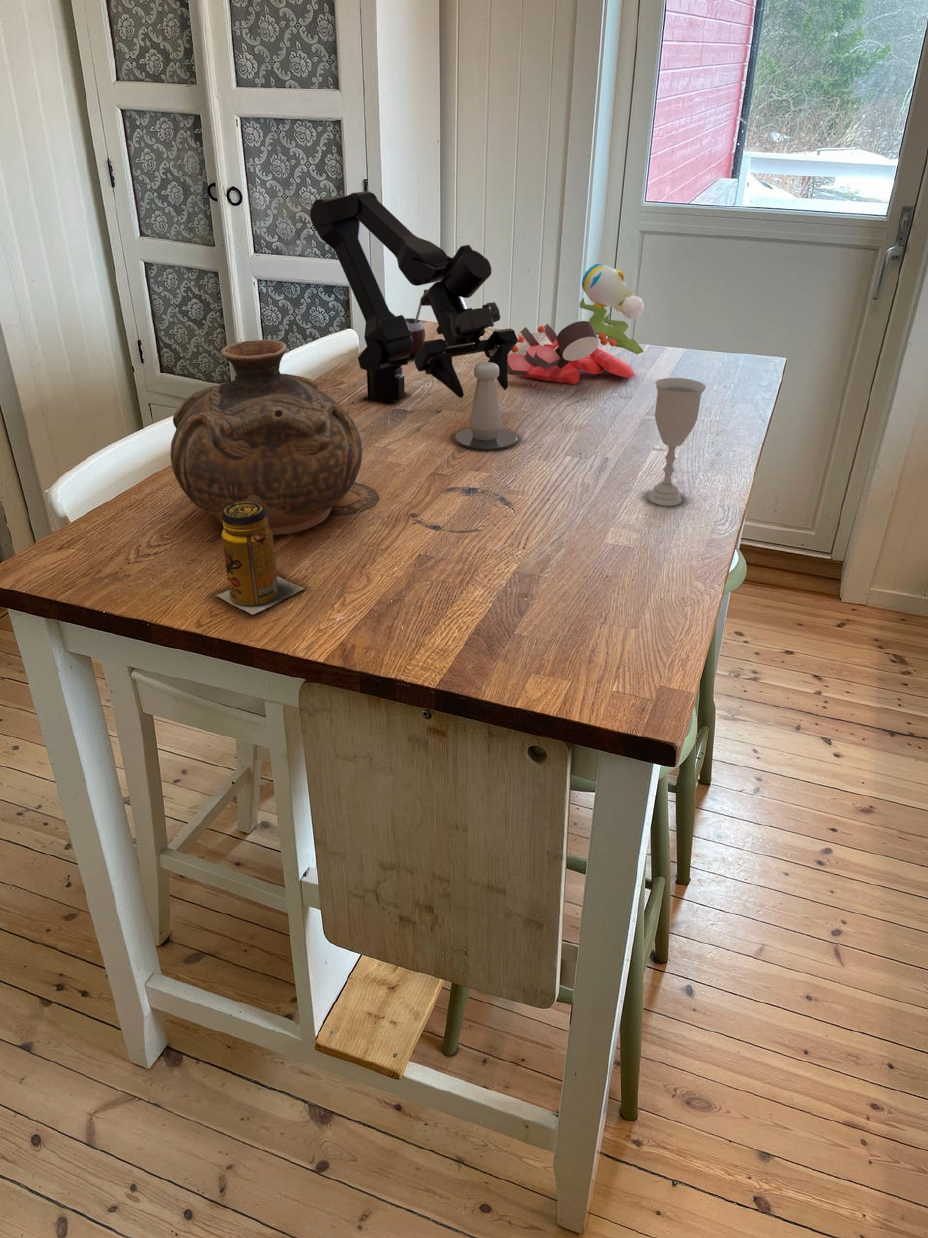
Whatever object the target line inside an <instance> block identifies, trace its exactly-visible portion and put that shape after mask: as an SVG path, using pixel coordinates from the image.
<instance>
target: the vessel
mask: <svg viewBox="0 0 928 1238" xmlns="http://www.w3.org/2000/svg"><path fill="white" fill-rule="evenodd" d="M287 348H288V345H287V344H286V343H285V342H283V341H280V340H274V339H255V340H254V339H253V340H244V341H237V342H233V343H231V344H227V345H226V346H224V347H223V348H222V349H221V351H220V354H221V356H222V357H223V358H225V359H226V360H227V361H228V362H229V363H230V364H231V365H232V367H233V368H232V369H233V370H234V372H235V376H234V380H231V381H229V382H222V383H219V384H217V385H212V386H209V387H207V388H204V389H201V390H199V391H197V392H196V391H195V392H194V393H193V394H192V395H190V396H189V397H188V398H186V399H184V401H183V402H182V403H181V404H180V406H179V407H178V408H177V410H176V411H175V412H174V413H173V417H172V423H173V426H174V428H175V431H174V434H173V437H172V439H171V443H170V462H171V468H172V473H173V475H174V476H175V479H176V481H177V483H178V485H179V487H180V489H181V490H182V492H183V493H184V494H185V495H186V496H187V498H188V499H189V500H190V501H191V502H192V503H193V504H194V505H195V506H196V507H198V508H199V509H201V510H202V511H204V512H206V513H208V514H210V515H212V516H214V517H216V518H217V520H218V521H219V522H220V523H221V524H222V525H223V518H222V511H223V510H224V509H225V508H226V507H227V506H229V505H231V504H234V503H238V502H256V503H259V504H261V505H263V506H264V507H265V509H266V510H267V514H266V515H267V519H268V525H269V526H270V527H271V529H272V535H273V536H281V535H290V534H295V533H296V534H297V533H300V532H303V531H305V530H308V529H310V528H314V527H315V526H317V525H319V524H321V523H322V522H324V521H325V520H327V518H328V517H329V515H330V513H331V511H332V507H334V506H335V505H336V504H338V503H339V502H340V501H341V500H342V499H343V498H344V497H345V496H346V495H347V494H348V492H349V491H350V490H351V488H352V487H353V485H354V484H355V481H356V479H357V477H358V474H359V472H360V469H361V465H362V457H363V447H362V446H363V445H362V439H361V436H360V433H359V430H358V428H357V425H356V423H355V421H354V420H353V419H352V418H351V416H350V415H349V414H348V412H347V411H346V410H345V409H344V408H343V407H342V406H341V405H340V404H339V403H338V402H337V401H336V400H335V399H333V398H332V397H331V396H329V395H328V394H326V393H325V392H323V391H321V390H319V389H318V384H317V383H316V382H315V381H314V380H312V379H310V378H307V377H304V376H300V375H294V374H289V373H281V372H280V366H281V363H282V359H283V357H284V356H285V353H286V351H287Z"/></svg>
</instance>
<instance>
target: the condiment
mask: <svg viewBox="0 0 928 1238" xmlns="http://www.w3.org/2000/svg"><path fill="white" fill-rule="evenodd" d="M266 514H267V510H266V509H265V507H264V506H263V505H261V504H259V503H256V502H238V503H234V504H231V505H229V506H227V507H226V508H225V509H224V510H223V511H222V518H223V524H222V527H223V530H222V532H221V541H222V542H221V543H222V547H223V556H224V562H225V569H226V570H225V571H226V577H227V585H228V590H226V591H223V592H222V593H219V594H215V596H216V597H217V598H219V599H221V600H223V601H225V602H226V603H228V604H230V605H232V606H234V607H236V608H238V609H240V610H242V611H245V612H247V613H248V614H250V615H252V616H253V615H256V614H258V613H259V612H262V611H264V610H266V609H268V608H271V607H273V606H274V605H276V604H278V603H279V602H282V601H283V600H284V599H287V598H290V597H292V596H294V595H296V594H297V593H298V592H300V591H303V590H305V589H306V588H305V587H304V586H300V585H297V584H296V583H293V582H290V581H288V580H286V579H283V578H282V577H280V576H279V575H278V574H277V573H278V572H277V563H276V556H275V555H276V554H275V546H274V535H272V529H271V527H270V526H269V525H268V519H267V515H266Z"/></svg>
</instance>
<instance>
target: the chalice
mask: <svg viewBox="0 0 928 1238" xmlns="http://www.w3.org/2000/svg"><path fill="white" fill-rule="evenodd" d="M654 384H655V387H656V391H657V395H656V403H655V411H654V419H655V423H656V429H657V430H658V434H659V436H660V439H661V442H662V444H664V445H665V446H667V450H668V451H667V454H666V456H665V457H664V459H665V462H666V463H665V466H664V467H663V468H662V471H664V478H663V480H662V481H660V482H658V483H656V484H655V485H654V488H653V489H652V490H651V493H650V494H649V495H648V500H649V501H650V502H652V503H653V504H656V505H659V506H666V507H667V506H668V507H669V506H677V505H679V504H681V503H682V501H683V500H682V497H681V493H680V491H679V487H678V486H677V485H676V484H675V483H674V482H673V481H672V476H673V473H674V472H675V471H676V470H675V468H674V462H675V461H676V460H677V457H676V453H675V450H676V448H677V447H680V446H682V445H683V444H684V442H685V441H686V440H687V438H688V437H689V435H690V434H691V432H692V431H693V429H694V428H695V425H696V423H697V421H698V417H699V411H700V404H701V397H702V394H703V392H704V391H705V390H706V389H707V385H706V384H704V383H703V382H701V381H698V380H695V379H691V378H683V377H665V378H660V379H658V380H656V381H655V382H654Z"/></svg>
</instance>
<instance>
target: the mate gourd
mask: <svg viewBox="0 0 928 1238" xmlns="http://www.w3.org/2000/svg"><path fill="white" fill-rule="evenodd" d="M431 287H432V285H430V287H428V289H427V290H429V289H430V288H431ZM423 295H424V293H423V294H422V296H420V300H419V304H418V309H417V312H416V315H415V318H413V317H411V318H409V317H408V318H407V317H406V318H405V319H406V323H407V326H408V328H409V330H410V331H411V332H412V335H411V338H412V341H413V346H412V351H411V354H410V357H409V360H410V359H414V357H415V355H416V354H417V352H418V350H419V349H420V347H421V346H422V344H423V343H424V341H426V340H425V339H426V330H425V325H424V323H423V322H422V320H420V319H419V317H420V313H421V309H422V307H423V306H422V305H421V299H422V297H423Z"/></svg>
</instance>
